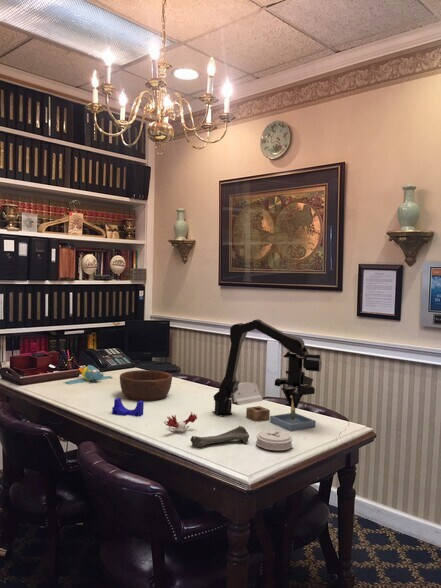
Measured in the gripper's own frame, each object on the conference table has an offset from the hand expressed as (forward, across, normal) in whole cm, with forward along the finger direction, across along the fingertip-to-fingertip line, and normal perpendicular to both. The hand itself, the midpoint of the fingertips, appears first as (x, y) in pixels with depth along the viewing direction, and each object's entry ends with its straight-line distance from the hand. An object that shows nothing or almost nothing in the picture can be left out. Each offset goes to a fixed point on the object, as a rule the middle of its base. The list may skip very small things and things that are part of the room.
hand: (293, 407), depth 202 cm
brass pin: (+5, 0, 0) cm, 5 cm away
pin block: (+7, +13, +8) cm, 17 cm away
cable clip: (+8, +40, +55) cm, 69 cm away
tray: (+7, 0, 0) cm, 7 cm away
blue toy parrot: (+8, +108, +50) cm, 119 cm away
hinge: (+8, +39, -4) cm, 40 cm away
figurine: (+8, +12, +46) cm, 48 cm away
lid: (+8, -17, +23) cm, 30 cm away
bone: (+8, -8, +39) cm, 40 cm away
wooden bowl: (+8, +66, +36) cm, 75 cm away
